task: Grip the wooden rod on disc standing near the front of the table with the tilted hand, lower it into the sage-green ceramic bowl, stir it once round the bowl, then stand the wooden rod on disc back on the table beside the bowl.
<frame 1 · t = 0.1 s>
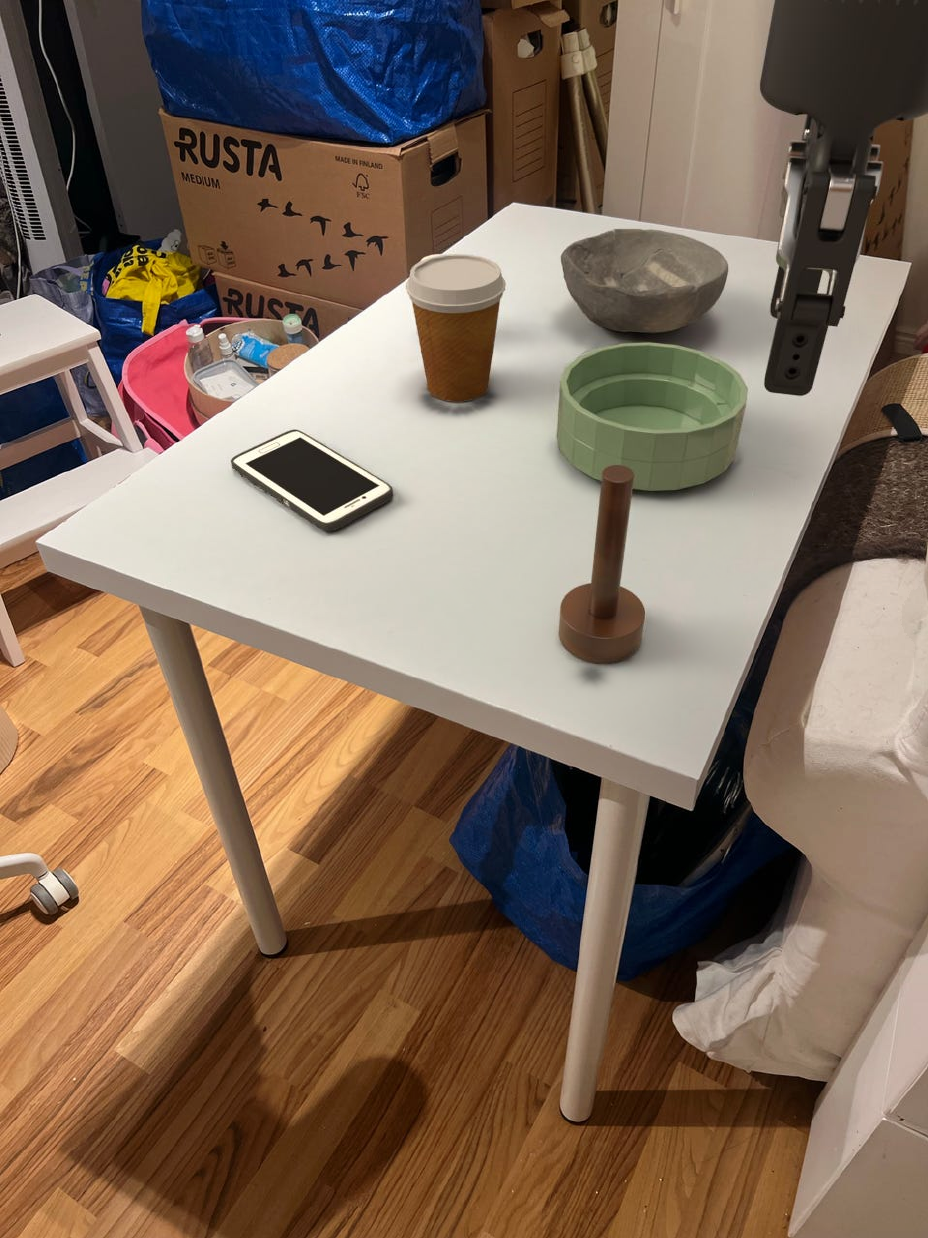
hand: (787, 351, 47), 24 cm above the table, tool pointing down, fingers open, 8 cm apart
bowl: (637, 325, 104), on the table
pill bottle: (441, 336, 103), on the table
wooden rod on disc: (599, 634, 67), on the table
disposable coffee cup: (458, 388, 94), on the table
mixing bowl: (644, 447, 85), on the table
cell phone: (311, 484, 82), on the table
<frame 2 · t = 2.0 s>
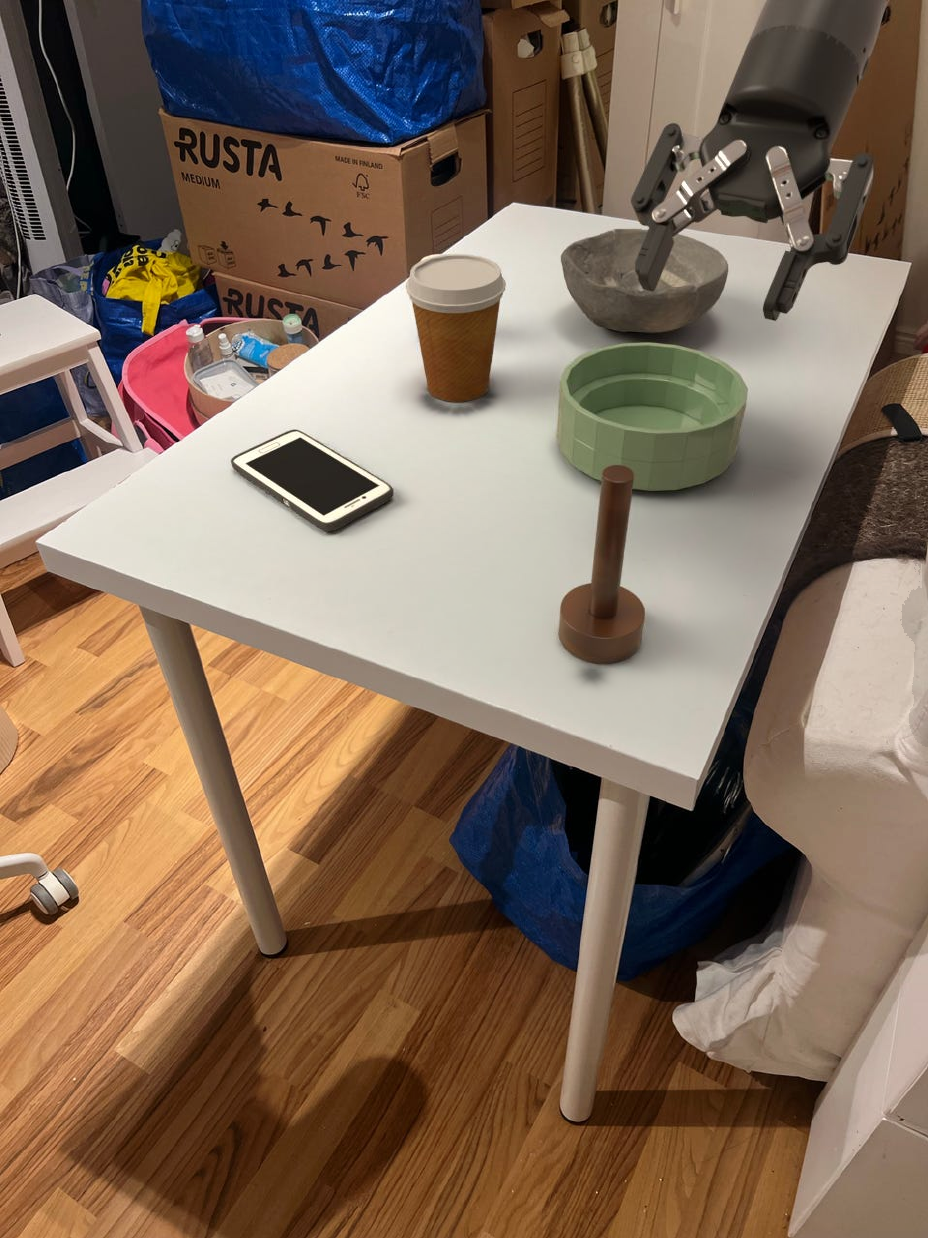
hand: (705, 300, 59), 21 cm above the table, tool tilted 45°, fingers open, 8 cm apart
nothing on the table moved.
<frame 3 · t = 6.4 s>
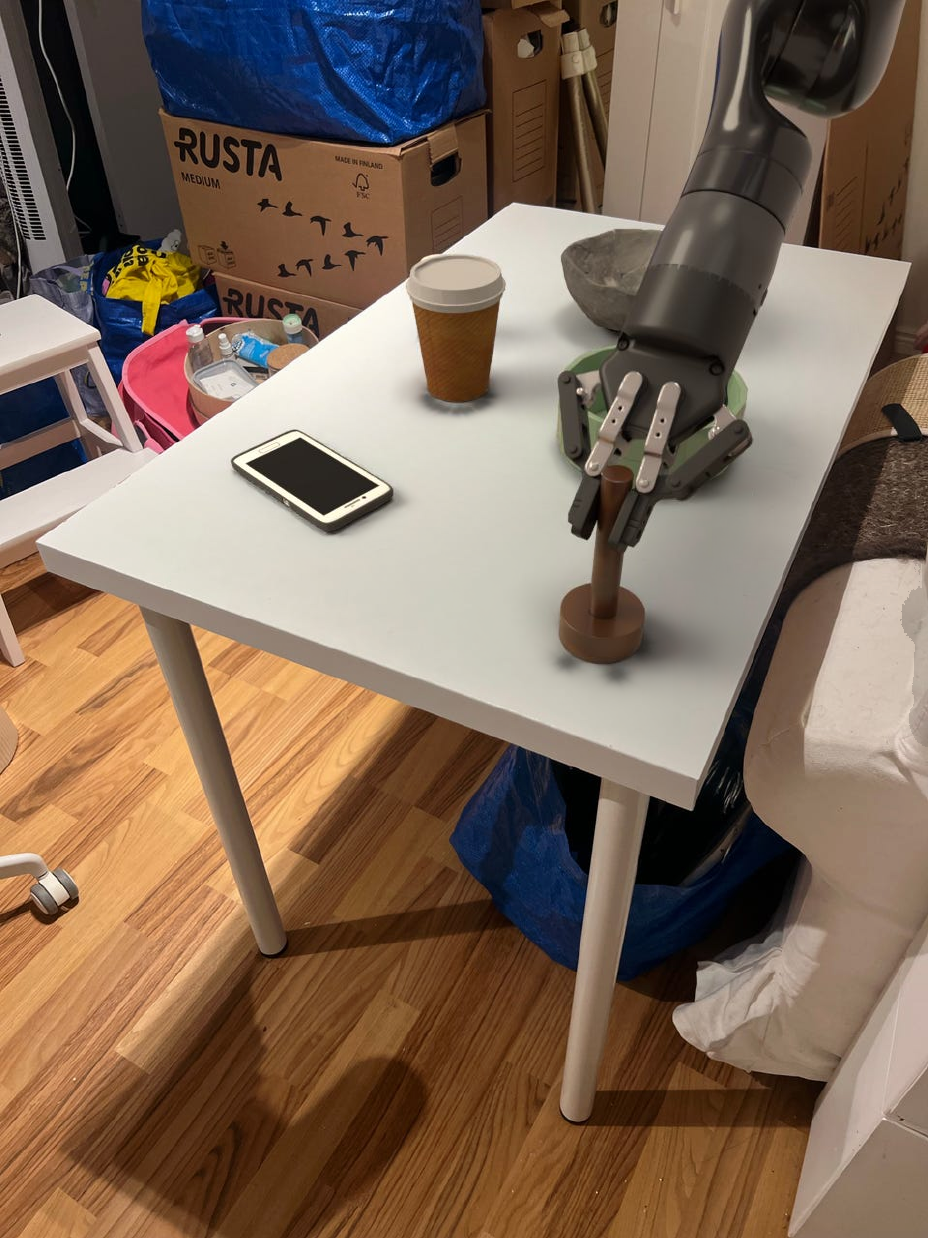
hand: (597, 542, 59), 10 cm above the table, tool tilted 45°, fingers closed on wooden rod on disc
wooden rod on disc: (599, 634, 67), on the table, touching gripper
everything else where it was.
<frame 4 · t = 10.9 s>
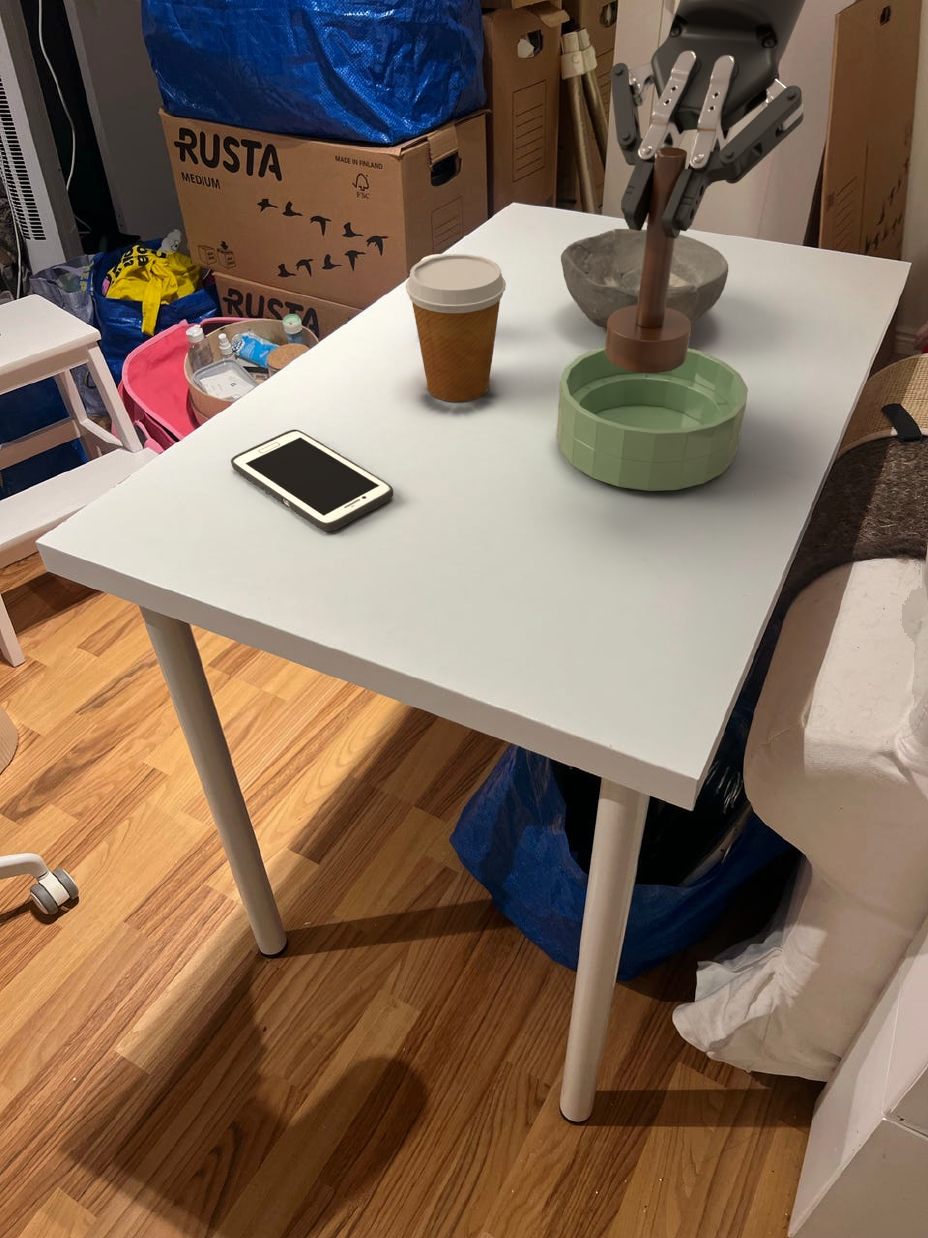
hand: (650, 227, 60), 24 cm above the table, tool tilted 45°, fingers closed on wooden rod on disc
wooden rod on disc: (645, 354, 68), point 14 cm above the table, touching gripper
everything else where it was.
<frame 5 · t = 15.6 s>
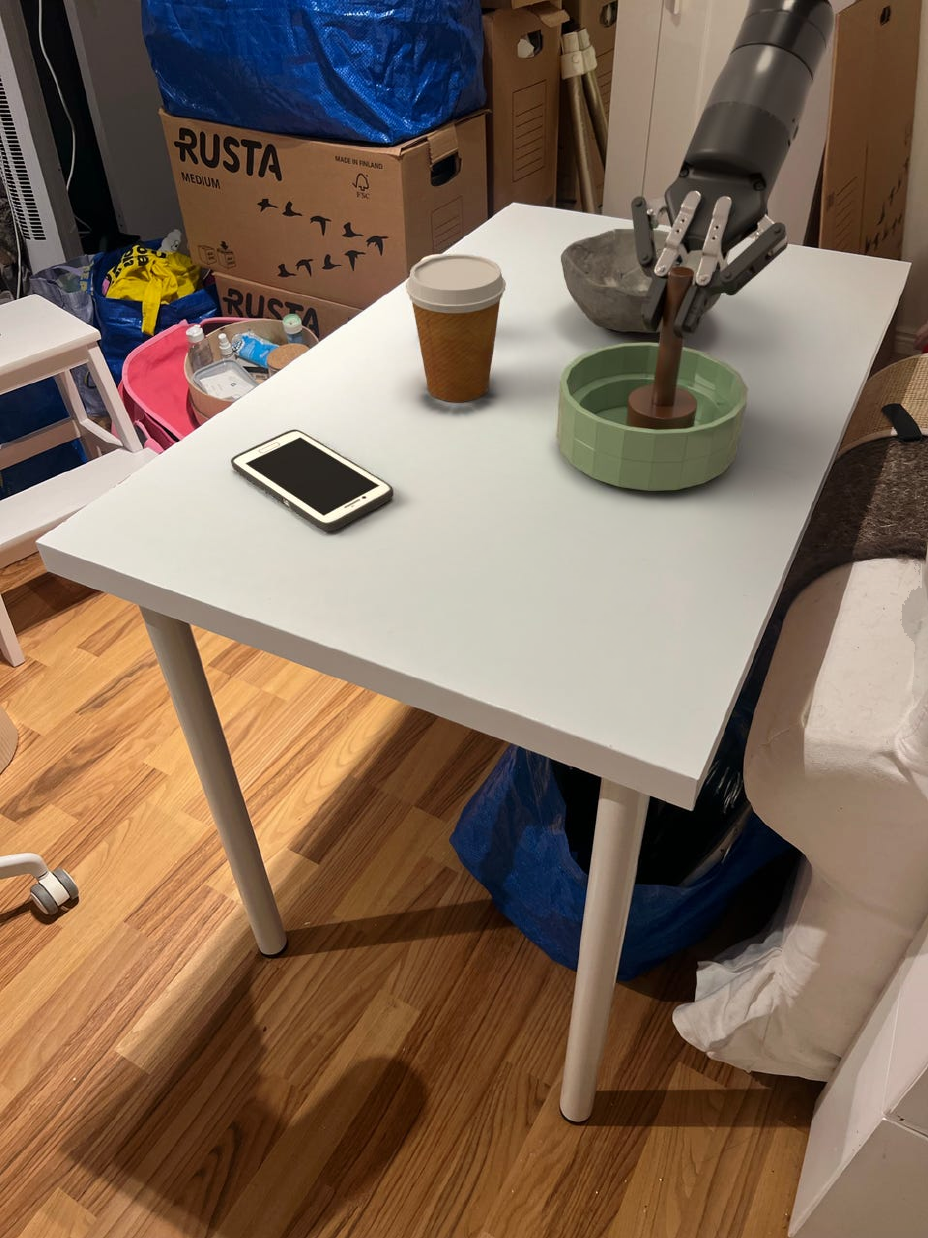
hand: (664, 330, 74), 13 cm above the table, tool tilted 45°, fingers closed on wooden rod on disc
wooden rod on disc: (659, 425, 82), point 3 cm above the table, touching gripper
everything else where it was.
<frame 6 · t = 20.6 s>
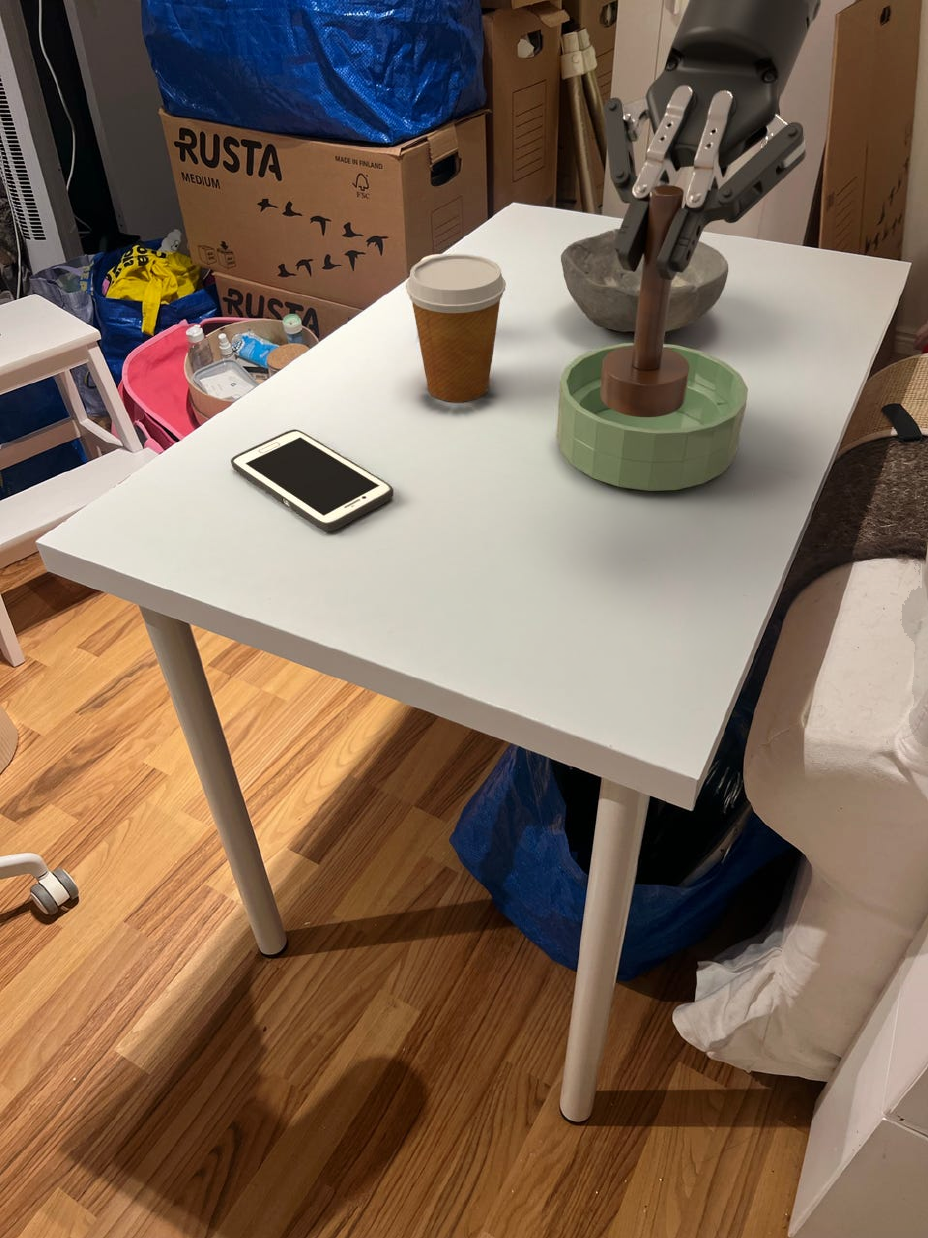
hand: (645, 268, 57), 23 cm above the table, tool tilted 45°, fingers closed on wooden rod on disc
wooden rod on disc: (642, 396, 65), point 13 cm above the table, touching gripper
everything else where it was.
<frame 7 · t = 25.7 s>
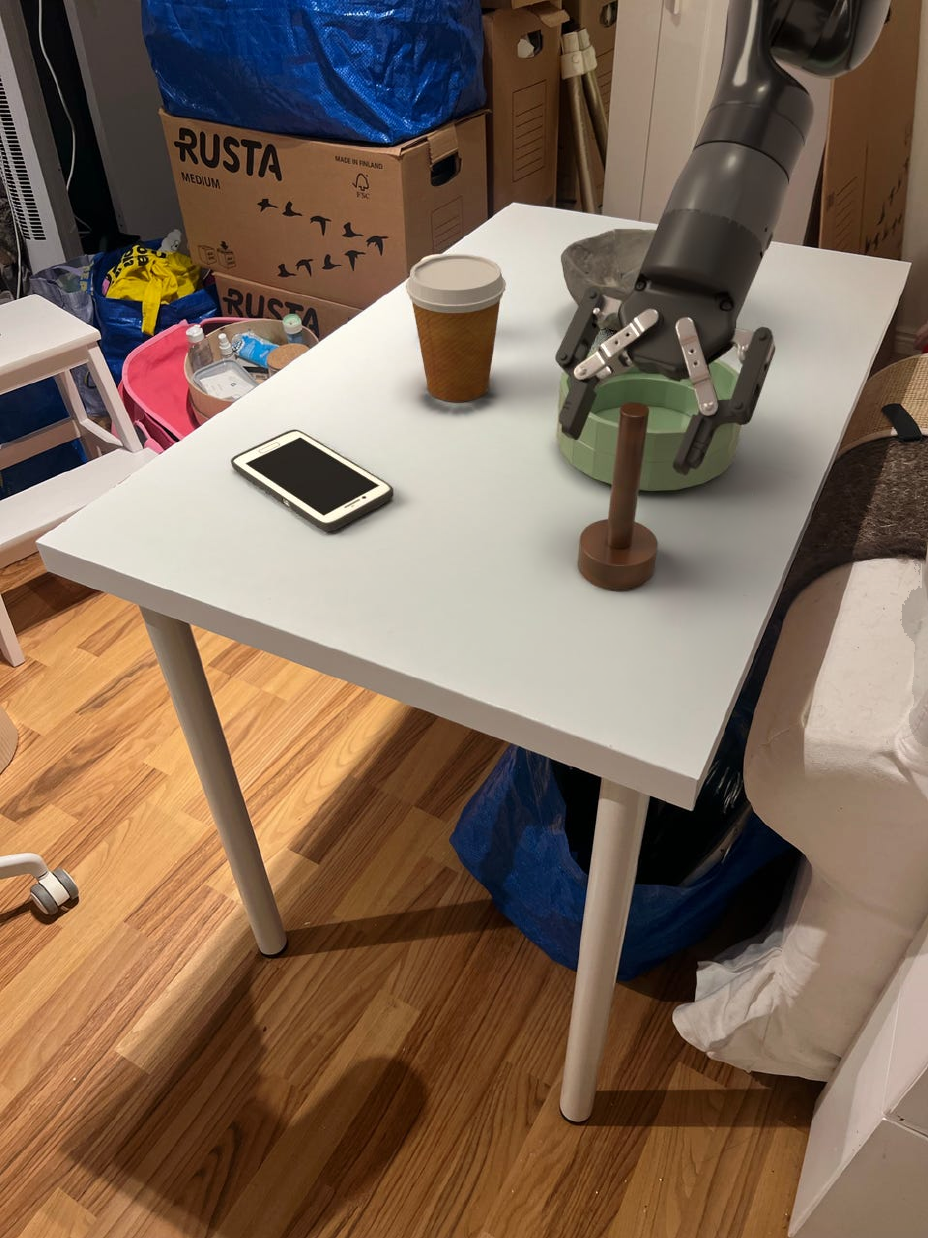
hand: (622, 453, 64), 11 cm above the table, tool tilted 45°, fingers open, 8 cm apart
wooden rod on disc: (615, 566, 72), on the table
everything else where it was.
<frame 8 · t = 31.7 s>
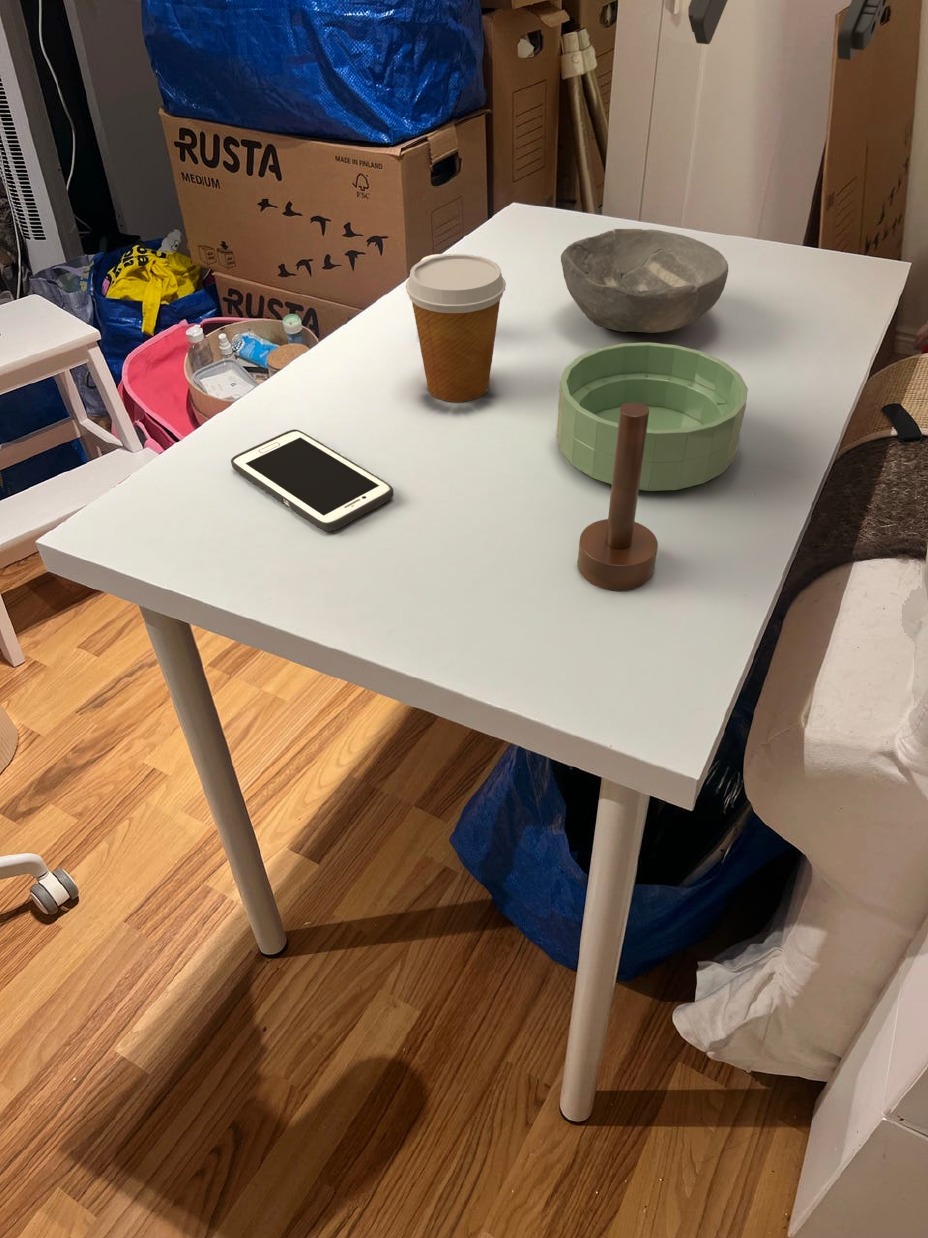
hand: (769, 42, 53), 35 cm above the table, tool tilted 45°, fingers open, 8 cm apart
nothing on the table moved.
at the end: wooden rod on disc inside the target area on the table beside the mixing bowl (0.1 cm from its centre), on the table; wooden rod on disc tilted 0°; the gripper is holding nothing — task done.
